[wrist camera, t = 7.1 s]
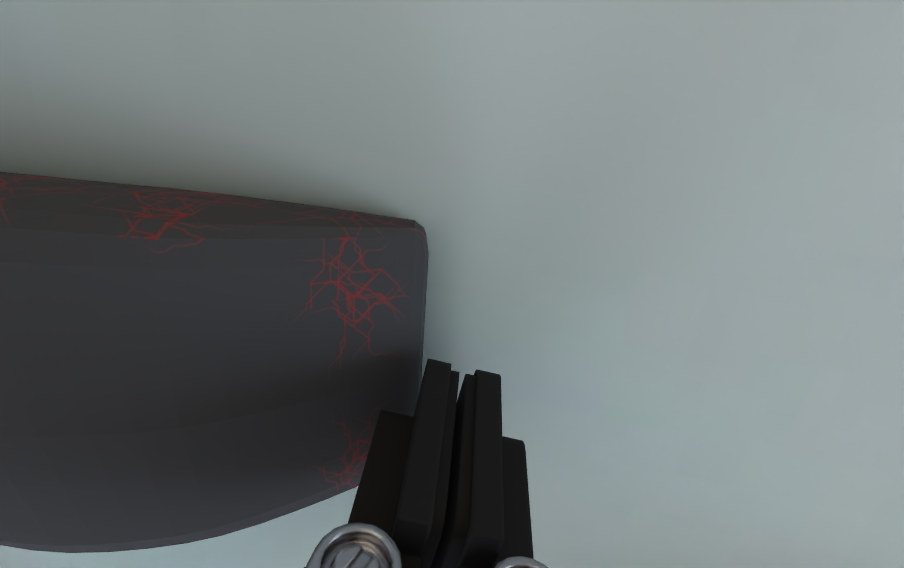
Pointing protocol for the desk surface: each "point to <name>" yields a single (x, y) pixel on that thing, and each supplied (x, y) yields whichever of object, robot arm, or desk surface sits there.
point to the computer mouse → (192, 358)
